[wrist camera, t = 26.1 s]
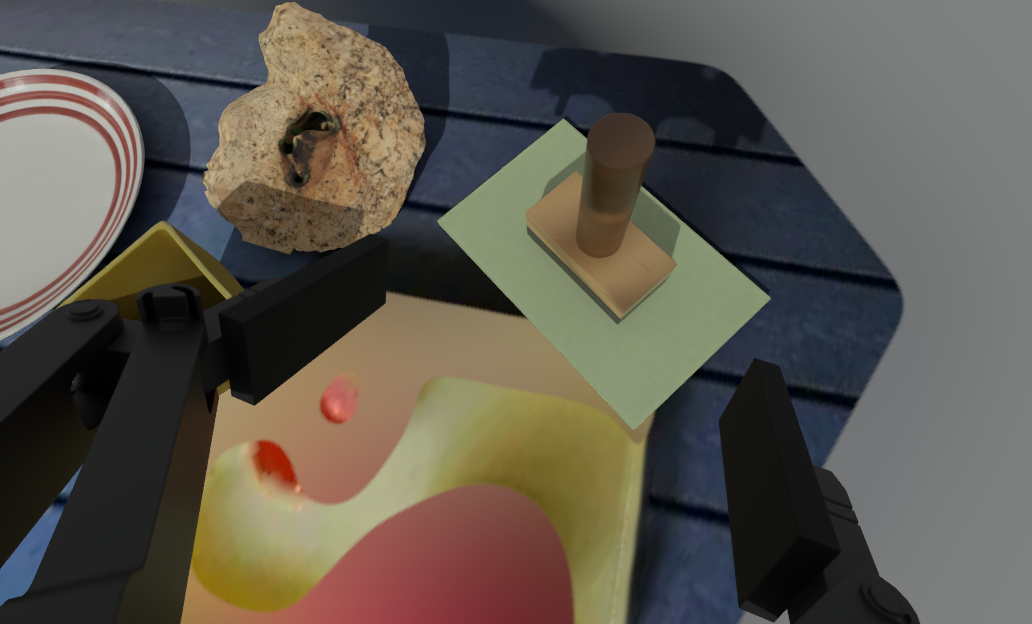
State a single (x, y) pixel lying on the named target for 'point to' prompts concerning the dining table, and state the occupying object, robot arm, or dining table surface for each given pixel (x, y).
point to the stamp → (604, 219)
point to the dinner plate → (60, 186)
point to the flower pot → (160, 273)
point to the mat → (573, 314)
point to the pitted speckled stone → (316, 139)
